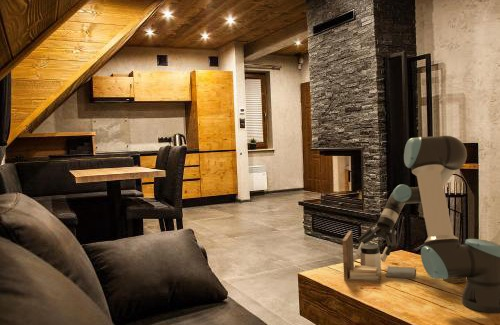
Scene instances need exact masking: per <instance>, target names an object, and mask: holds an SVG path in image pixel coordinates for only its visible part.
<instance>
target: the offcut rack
mask: <svg viewBox="0 0 500 325" xmlns="http://www.w3.org/2000/svg"><path fill="white" fill-rule="evenodd" d="M353 238H354V237H353V230H349V231H348V232H347V233H346V234H345V236H344V237H343V239H342V240H341V241H342V259H343V260H342V261H343V262H342V264H343V281H344V282H353V283H354V282H357V283H359V282H360V283H371V284H380V283H381V280H382V276H381V275H380V273H378V272H377V270H378V267H377V266H361V265H356V264H355V263H354V260H355V259H354V241H353V240H354V239H353ZM354 264H355V265H354Z"/></svg>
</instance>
